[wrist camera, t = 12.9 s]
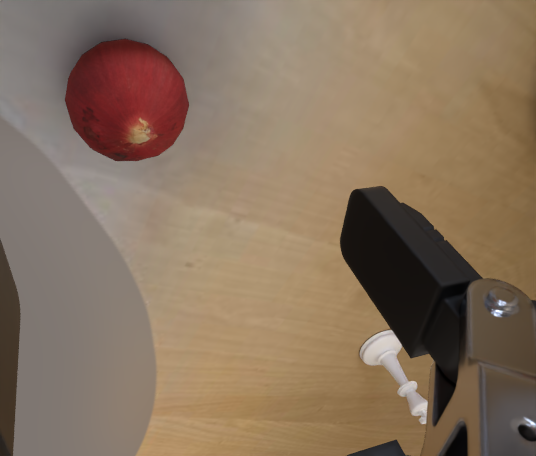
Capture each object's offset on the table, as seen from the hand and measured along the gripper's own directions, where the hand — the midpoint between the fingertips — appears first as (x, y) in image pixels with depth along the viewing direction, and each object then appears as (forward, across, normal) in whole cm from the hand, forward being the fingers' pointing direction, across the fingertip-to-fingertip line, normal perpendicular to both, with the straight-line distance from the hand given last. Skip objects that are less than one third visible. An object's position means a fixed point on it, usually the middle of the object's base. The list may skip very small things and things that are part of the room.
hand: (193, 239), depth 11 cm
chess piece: (+18, -24, +34) cm, 46 cm away
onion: (+19, 0, +3) cm, 19 cm away
